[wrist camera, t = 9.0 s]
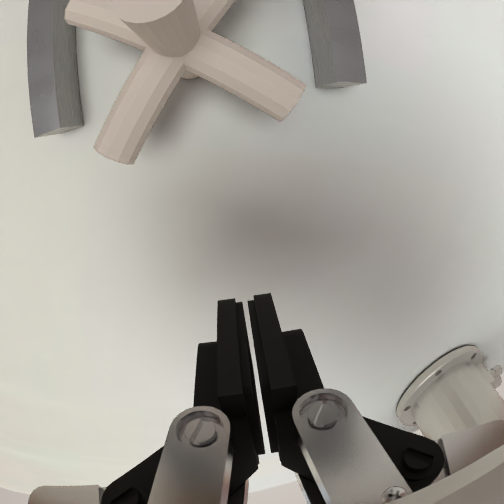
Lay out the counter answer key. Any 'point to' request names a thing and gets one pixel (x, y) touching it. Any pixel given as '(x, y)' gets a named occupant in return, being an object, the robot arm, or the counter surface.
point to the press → (65, 63)
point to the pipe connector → (176, 64)
